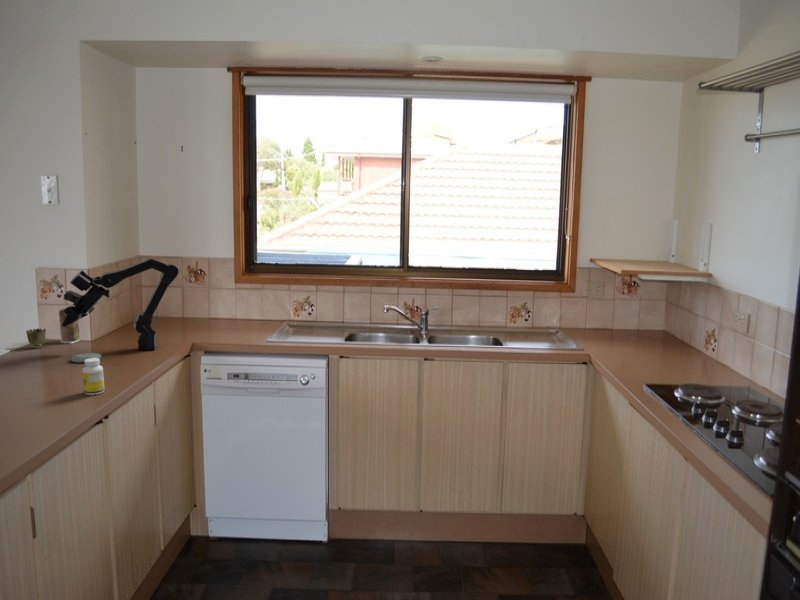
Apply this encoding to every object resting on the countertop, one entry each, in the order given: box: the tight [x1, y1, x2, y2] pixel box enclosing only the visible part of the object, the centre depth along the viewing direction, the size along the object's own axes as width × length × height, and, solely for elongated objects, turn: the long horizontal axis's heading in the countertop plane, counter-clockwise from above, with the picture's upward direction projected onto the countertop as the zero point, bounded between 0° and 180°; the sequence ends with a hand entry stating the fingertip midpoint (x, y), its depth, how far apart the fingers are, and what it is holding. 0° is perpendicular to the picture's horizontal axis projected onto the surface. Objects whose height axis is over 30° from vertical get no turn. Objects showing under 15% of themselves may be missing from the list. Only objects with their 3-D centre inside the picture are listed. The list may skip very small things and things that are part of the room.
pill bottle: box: [82, 358, 106, 396], centre depth 227 cm, size 6×6×12 cm
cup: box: [25, 327, 47, 349], centre depth 288 cm, size 8×7×8 cm
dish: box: [70, 352, 102, 364], centre depth 269 cm, size 11×11×1 cm
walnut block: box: [58, 307, 80, 342], centre depth 275 cm, size 5×5×13 cm
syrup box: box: [57, 311, 81, 345], centre depth 298 cm, size 6×6×14 cm
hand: (65, 324), depth 275 cm, fingers closed on walnut block, 5 cm apart
